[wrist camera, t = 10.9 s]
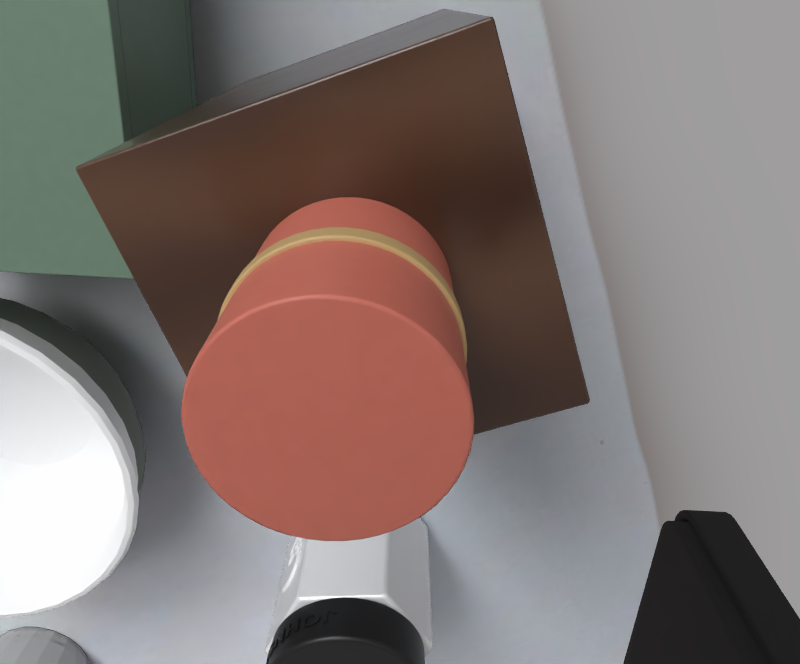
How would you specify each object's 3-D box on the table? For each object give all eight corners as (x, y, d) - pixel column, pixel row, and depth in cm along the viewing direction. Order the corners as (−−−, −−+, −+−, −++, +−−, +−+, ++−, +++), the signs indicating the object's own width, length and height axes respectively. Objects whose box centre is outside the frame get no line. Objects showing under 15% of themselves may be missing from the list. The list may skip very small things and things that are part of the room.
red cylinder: (243, 185, 16) (159, 280, 10) (466, 198, 16) (497, 299, 11) (251, 379, 18) (186, 540, 13) (447, 390, 18) (464, 553, 13)
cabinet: (-116, -140, 29) (-337, -200, 20) (181, -120, 29) (88, -171, 21) (-41, 198, 35) (-184, 261, 27) (204, 212, 36) (140, 279, 27)
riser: (245, 81, 33) (72, 167, 16) (445, 8, 31) (493, 15, 14) (321, 267, 37) (249, 496, 20) (501, 210, 36) (591, 403, 18)
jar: (329, 454, 42) (303, 610, 31) (445, 502, 44) (459, 666, 33) (274, 553, 46) (234, 723, 35) (384, 594, 47) (378, 769, 36)
